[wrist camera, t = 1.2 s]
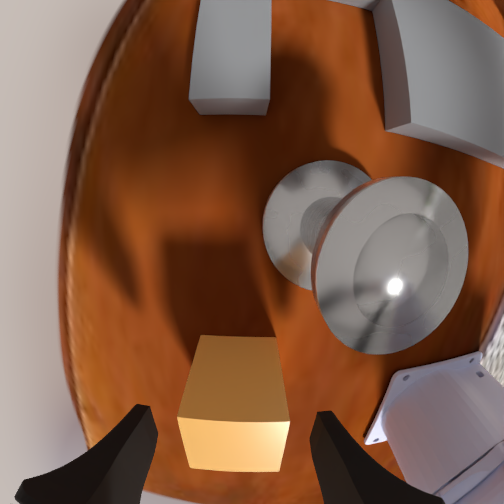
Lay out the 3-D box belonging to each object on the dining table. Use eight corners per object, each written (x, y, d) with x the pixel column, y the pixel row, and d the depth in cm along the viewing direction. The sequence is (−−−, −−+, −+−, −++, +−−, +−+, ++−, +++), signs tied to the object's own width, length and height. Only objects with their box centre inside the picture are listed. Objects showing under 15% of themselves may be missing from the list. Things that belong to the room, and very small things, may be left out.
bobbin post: (385, 169, 12) (493, 167, 5) (373, 285, 13) (453, 361, 6) (264, 157, 12) (286, 121, 5) (259, 284, 13) (270, 386, 6)
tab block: (275, 337, 14) (290, 421, 8) (271, 390, 15) (278, 471, 9) (200, 334, 14) (176, 416, 8) (205, 388, 15) (190, 467, 9)
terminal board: (488, 48, 9) (507, 41, 7) (505, 169, 12) (530, 171, 9) (215, -27, 9) (211, -53, 6) (199, 114, 11) (188, 99, 9)
